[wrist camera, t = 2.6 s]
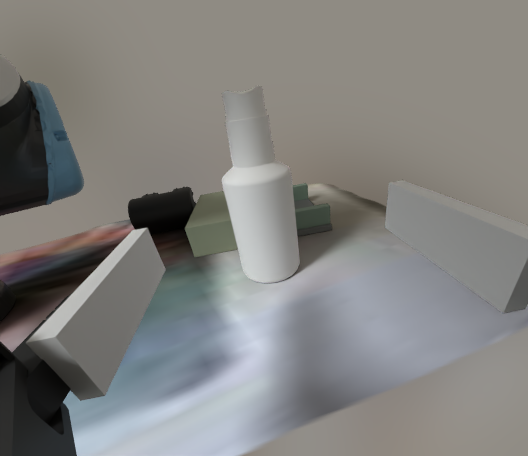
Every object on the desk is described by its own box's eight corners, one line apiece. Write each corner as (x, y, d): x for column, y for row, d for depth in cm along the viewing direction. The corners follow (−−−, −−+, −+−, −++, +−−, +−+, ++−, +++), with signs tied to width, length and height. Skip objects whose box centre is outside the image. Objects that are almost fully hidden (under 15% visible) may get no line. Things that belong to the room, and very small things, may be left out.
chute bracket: (194, 257, 31) (184, 228, 29) (206, 217, 43) (200, 195, 41) (333, 231, 31) (332, 201, 29) (305, 199, 44) (304, 176, 42)
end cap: (140, 243, 38) (122, 206, 35) (150, 226, 44) (136, 193, 41) (199, 230, 39) (188, 192, 36) (201, 215, 45) (191, 182, 42)
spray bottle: (293, 245, 30) (276, 88, 22) (307, 278, 24) (290, 76, 16) (242, 254, 30) (206, 99, 22) (243, 290, 24) (193, 92, 15)
